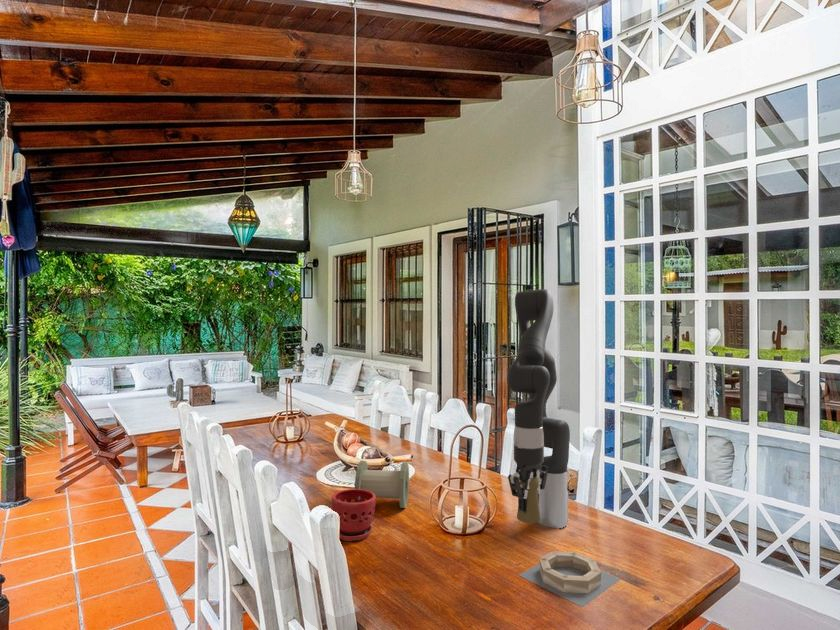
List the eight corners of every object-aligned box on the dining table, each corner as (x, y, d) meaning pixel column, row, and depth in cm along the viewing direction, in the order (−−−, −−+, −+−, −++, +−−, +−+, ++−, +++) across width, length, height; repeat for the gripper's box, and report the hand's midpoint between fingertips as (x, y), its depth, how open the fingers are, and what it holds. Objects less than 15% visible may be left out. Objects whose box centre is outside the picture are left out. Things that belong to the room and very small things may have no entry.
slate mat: (558, 554, 138) (558, 552, 138) (621, 581, 125) (621, 578, 125) (518, 577, 127) (518, 575, 127) (582, 609, 113) (582, 607, 113)
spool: (409, 498, 180) (409, 456, 180) (403, 515, 165) (403, 470, 165) (364, 496, 181) (364, 455, 181) (354, 513, 166) (354, 468, 166)
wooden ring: (560, 557, 136) (561, 546, 136) (609, 578, 125) (609, 566, 125) (529, 575, 126) (529, 563, 126) (579, 599, 116) (579, 587, 116)
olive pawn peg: (524, 511, 132) (524, 470, 132) (544, 517, 128) (544, 475, 128) (512, 518, 127) (512, 476, 127) (533, 525, 123) (533, 481, 123)
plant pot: (368, 546, 143) (368, 504, 143) (325, 542, 146) (325, 501, 146) (380, 526, 156) (380, 488, 156) (340, 523, 159) (340, 485, 158)
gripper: (534, 435, 135) (534, 498, 135) (498, 445, 126) (499, 512, 126) (557, 441, 129) (557, 506, 129) (522, 451, 120) (522, 522, 120)
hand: (528, 509), depth 128 cm, fingers closed on olive pawn peg, 4 cm apart
